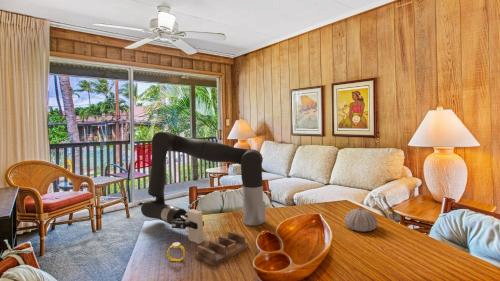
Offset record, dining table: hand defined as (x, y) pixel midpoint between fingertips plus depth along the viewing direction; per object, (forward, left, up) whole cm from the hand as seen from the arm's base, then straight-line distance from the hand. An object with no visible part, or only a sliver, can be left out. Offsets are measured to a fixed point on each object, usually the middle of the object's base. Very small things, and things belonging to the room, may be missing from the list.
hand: (200, 225), depth 107 cm
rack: (-5, +11, -7) cm, 14 cm away
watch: (+11, +9, -7) cm, 16 cm away
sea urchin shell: (-65, +18, -7) cm, 68 cm away
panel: (+1, -3, -7) cm, 8 cm away
